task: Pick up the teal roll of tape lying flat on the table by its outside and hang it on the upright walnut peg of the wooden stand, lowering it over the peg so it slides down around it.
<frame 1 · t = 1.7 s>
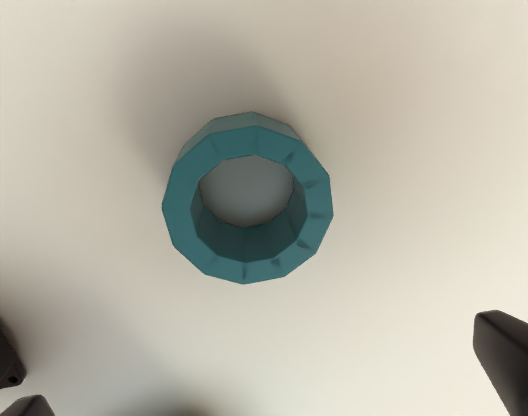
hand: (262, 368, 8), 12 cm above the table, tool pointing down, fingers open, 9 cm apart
tape roll: (246, 184, 18), on the table
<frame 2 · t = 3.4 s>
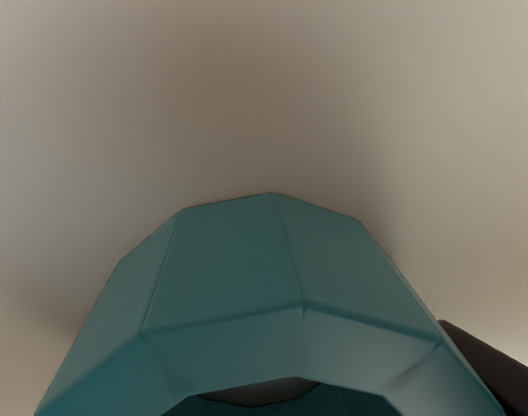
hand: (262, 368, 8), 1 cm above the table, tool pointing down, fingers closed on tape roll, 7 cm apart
tape roll: (258, 333, 9), on the table, touching gripper
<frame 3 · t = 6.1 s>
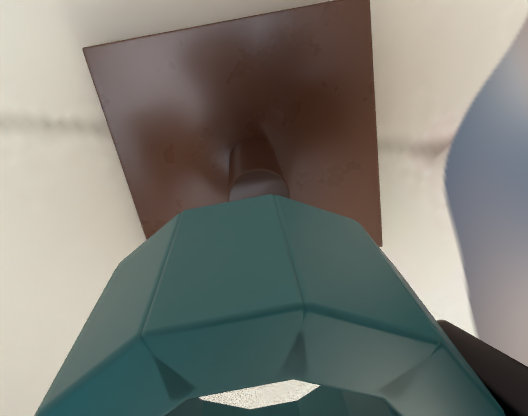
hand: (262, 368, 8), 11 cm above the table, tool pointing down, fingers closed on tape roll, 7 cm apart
peg stand: (251, 154, 17), on the table
tape roll: (258, 334, 9), point 10 cm above the table, touching gripper
when the fingers open (2 cm above the table, at t = 8.9 s): tape roll stays where it is, resting on peg stand.
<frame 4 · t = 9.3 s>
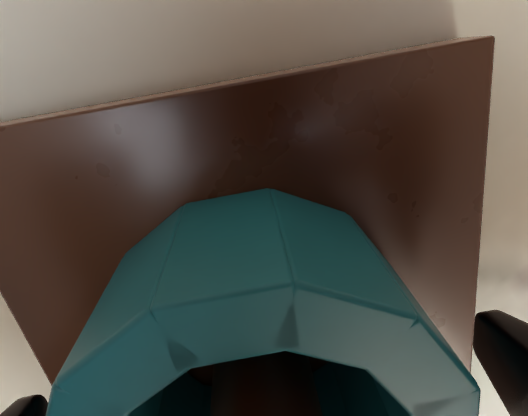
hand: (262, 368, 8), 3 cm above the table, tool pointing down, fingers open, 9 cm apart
peg stand: (255, 291, 10), on the table
tape roll: (255, 321, 9), point 1 cm above the table, touching peg stand
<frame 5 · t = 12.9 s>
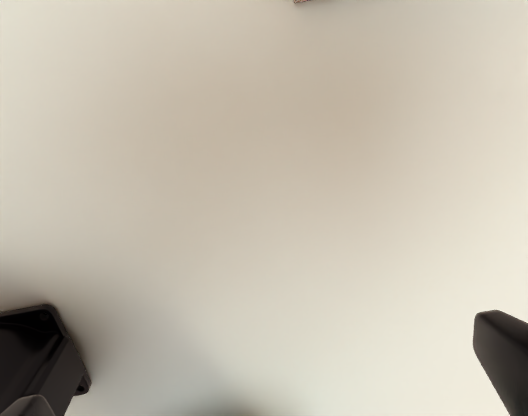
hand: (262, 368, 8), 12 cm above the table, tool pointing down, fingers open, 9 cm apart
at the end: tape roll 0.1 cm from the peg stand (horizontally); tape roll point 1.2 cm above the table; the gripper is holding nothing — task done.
